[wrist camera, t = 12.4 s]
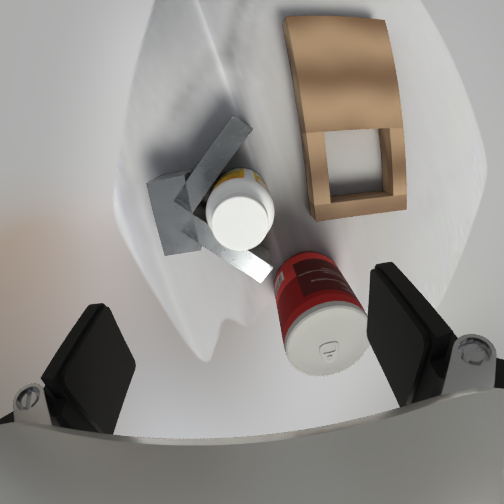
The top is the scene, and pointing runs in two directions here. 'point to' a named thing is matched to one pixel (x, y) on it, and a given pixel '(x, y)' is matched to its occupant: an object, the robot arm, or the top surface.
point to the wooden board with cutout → (346, 105)
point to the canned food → (319, 316)
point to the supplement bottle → (240, 209)
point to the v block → (194, 214)
